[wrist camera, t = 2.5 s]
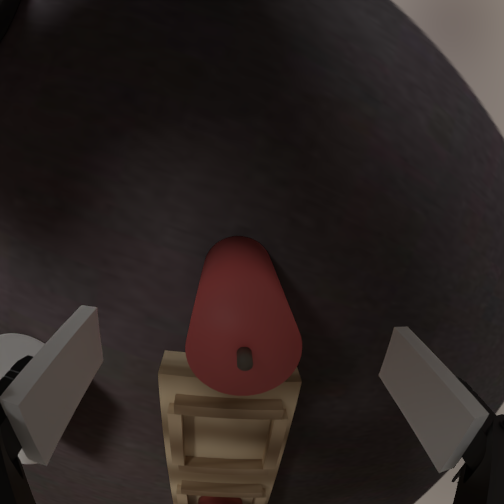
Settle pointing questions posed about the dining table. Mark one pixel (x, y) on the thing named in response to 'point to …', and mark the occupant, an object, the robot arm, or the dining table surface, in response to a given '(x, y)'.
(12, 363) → the mug
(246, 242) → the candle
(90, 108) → the dining table surface
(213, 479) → the oak candlestand
